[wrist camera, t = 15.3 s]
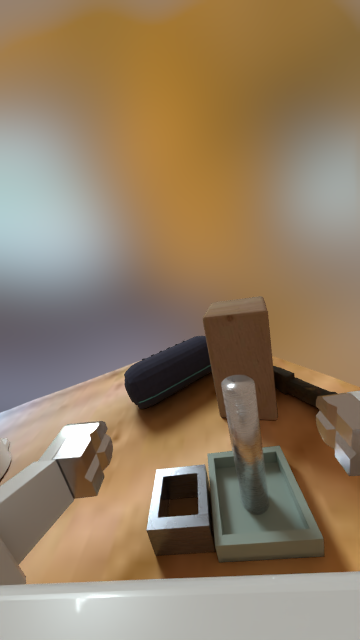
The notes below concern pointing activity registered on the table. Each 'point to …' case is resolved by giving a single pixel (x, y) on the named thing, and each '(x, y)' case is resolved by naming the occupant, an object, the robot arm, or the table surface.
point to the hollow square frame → (181, 530)
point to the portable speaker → (167, 372)
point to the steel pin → (246, 441)
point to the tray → (268, 528)
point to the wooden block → (242, 349)
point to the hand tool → (297, 386)
